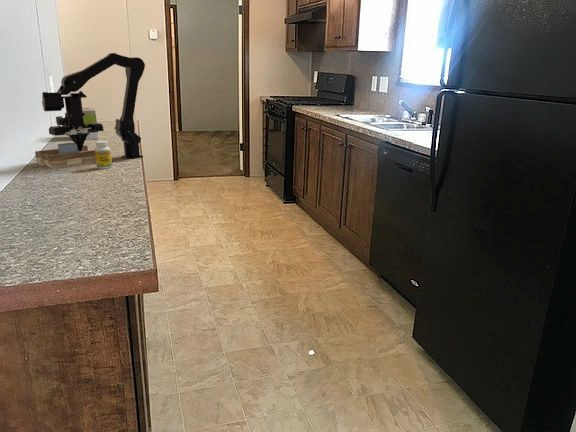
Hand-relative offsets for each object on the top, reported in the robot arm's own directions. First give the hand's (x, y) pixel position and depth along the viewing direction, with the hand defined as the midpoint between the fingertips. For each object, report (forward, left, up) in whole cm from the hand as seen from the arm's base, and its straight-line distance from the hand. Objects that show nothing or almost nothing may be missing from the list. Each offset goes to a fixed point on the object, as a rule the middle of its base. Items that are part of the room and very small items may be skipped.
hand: (79, 151), depth 181 cm
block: (0, +4, -2) cm, 5 cm away
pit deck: (+3, +3, -4) cm, 6 cm away
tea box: (+58, -31, -5) cm, 66 cm away
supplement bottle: (-16, -1, -4) cm, 16 cm away
